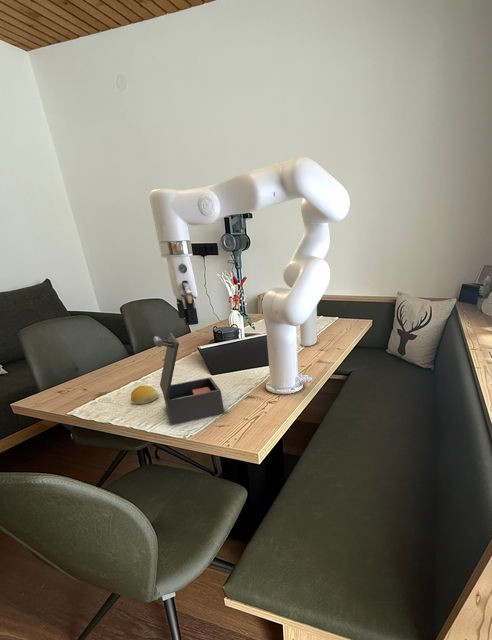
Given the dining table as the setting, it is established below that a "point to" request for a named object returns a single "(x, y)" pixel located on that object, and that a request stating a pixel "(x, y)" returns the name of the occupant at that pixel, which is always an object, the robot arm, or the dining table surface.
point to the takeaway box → (193, 401)
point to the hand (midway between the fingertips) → (188, 320)
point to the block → (200, 390)
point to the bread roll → (143, 395)
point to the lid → (167, 362)
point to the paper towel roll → (309, 330)
